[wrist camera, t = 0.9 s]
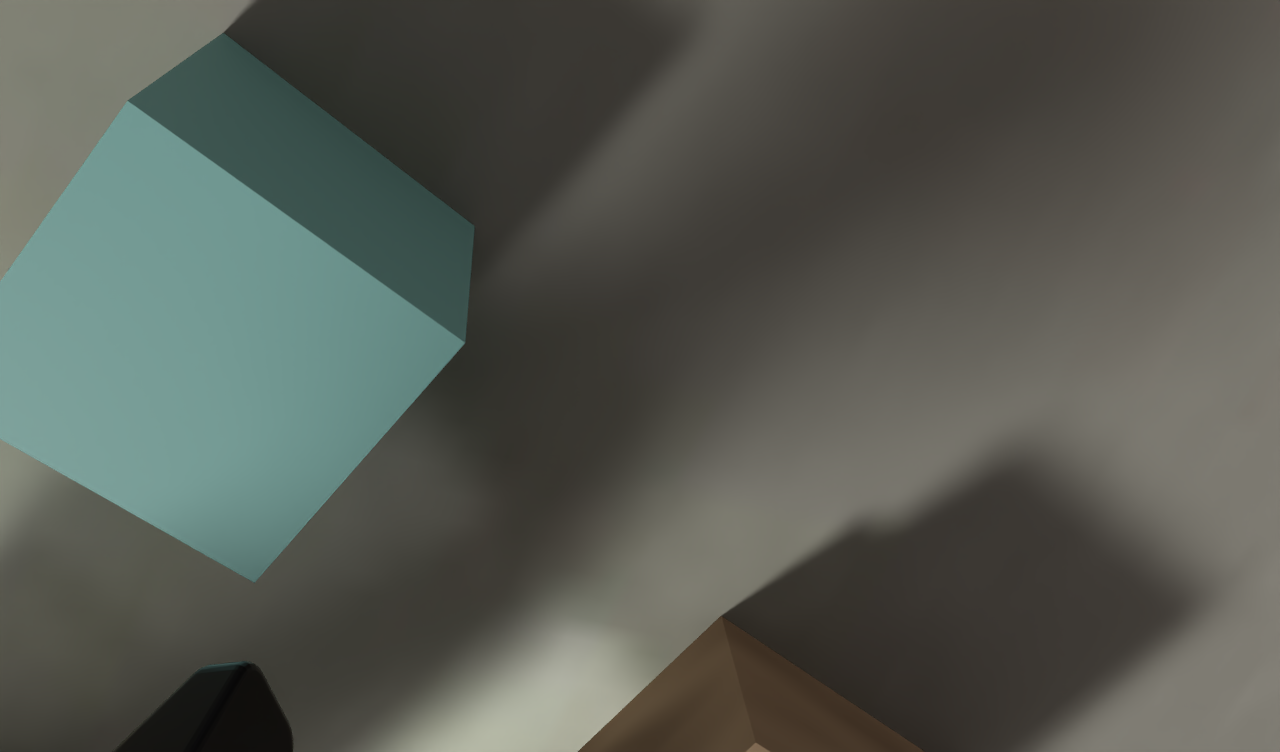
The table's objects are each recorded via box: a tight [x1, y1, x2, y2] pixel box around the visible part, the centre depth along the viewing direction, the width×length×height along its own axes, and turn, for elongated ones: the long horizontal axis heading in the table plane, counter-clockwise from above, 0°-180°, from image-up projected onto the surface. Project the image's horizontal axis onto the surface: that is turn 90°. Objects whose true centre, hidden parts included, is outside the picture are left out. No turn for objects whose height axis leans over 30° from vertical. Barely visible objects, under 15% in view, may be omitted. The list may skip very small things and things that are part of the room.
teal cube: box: [0, 33, 475, 583], centre depth 17 cm, size 5×5×5 cm
